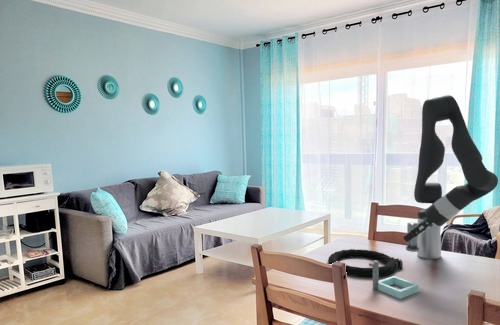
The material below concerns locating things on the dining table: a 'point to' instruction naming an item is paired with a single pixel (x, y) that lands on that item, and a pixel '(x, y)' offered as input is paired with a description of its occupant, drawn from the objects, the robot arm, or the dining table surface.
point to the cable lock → (367, 272)
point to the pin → (413, 243)
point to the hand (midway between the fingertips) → (406, 238)
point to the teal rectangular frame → (385, 284)
